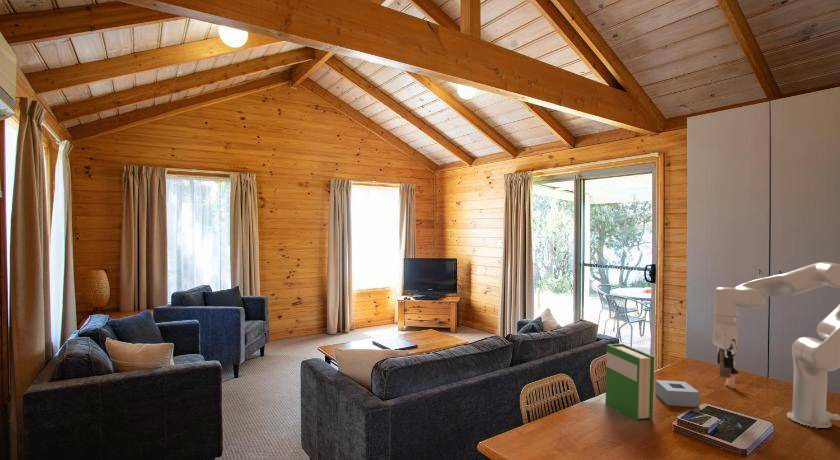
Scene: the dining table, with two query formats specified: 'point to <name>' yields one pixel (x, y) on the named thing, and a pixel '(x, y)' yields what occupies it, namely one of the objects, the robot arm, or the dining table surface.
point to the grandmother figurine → (732, 377)
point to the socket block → (677, 393)
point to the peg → (723, 371)
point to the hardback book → (630, 381)
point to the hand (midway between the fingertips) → (725, 365)
